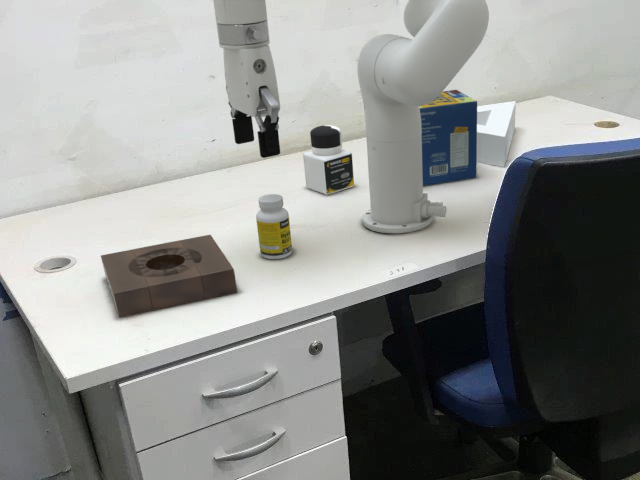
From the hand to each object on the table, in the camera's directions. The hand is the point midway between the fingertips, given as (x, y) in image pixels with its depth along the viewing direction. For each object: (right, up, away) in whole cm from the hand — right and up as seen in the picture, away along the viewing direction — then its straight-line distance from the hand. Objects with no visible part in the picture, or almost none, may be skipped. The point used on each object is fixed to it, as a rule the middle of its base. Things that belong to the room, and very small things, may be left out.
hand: (257, 149), depth 134 cm
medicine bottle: (+9, +2, +37) cm, 38 cm away
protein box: (+30, +5, +39) cm, 50 cm away
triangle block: (+43, +18, +59) cm, 75 cm away
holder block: (-14, -22, 0) cm, 26 cm away
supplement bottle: (+2, -16, +8) cm, 18 cm away
